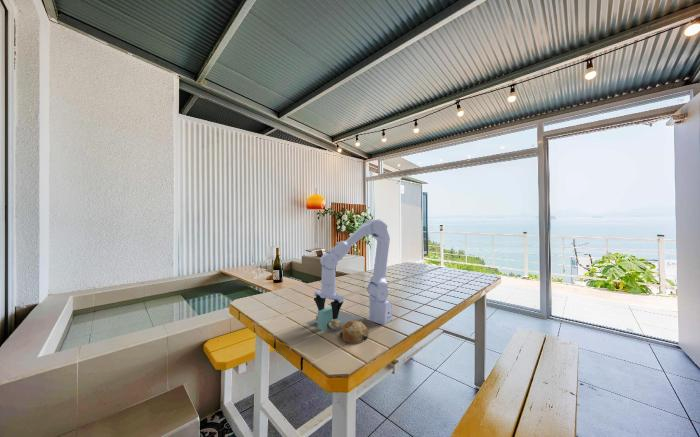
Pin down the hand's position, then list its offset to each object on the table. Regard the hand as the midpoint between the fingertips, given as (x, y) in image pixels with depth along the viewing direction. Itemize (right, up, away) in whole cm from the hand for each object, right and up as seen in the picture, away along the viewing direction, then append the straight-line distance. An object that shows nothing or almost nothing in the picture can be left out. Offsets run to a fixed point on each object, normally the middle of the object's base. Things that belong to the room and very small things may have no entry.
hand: (328, 316), depth 100 cm
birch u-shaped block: (0, -4, 0) cm, 4 cm away
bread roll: (+10, -5, -10) cm, 15 cm away
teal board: (0, -4, 0) cm, 4 cm away
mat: (+3, -4, +5) cm, 7 cm away
